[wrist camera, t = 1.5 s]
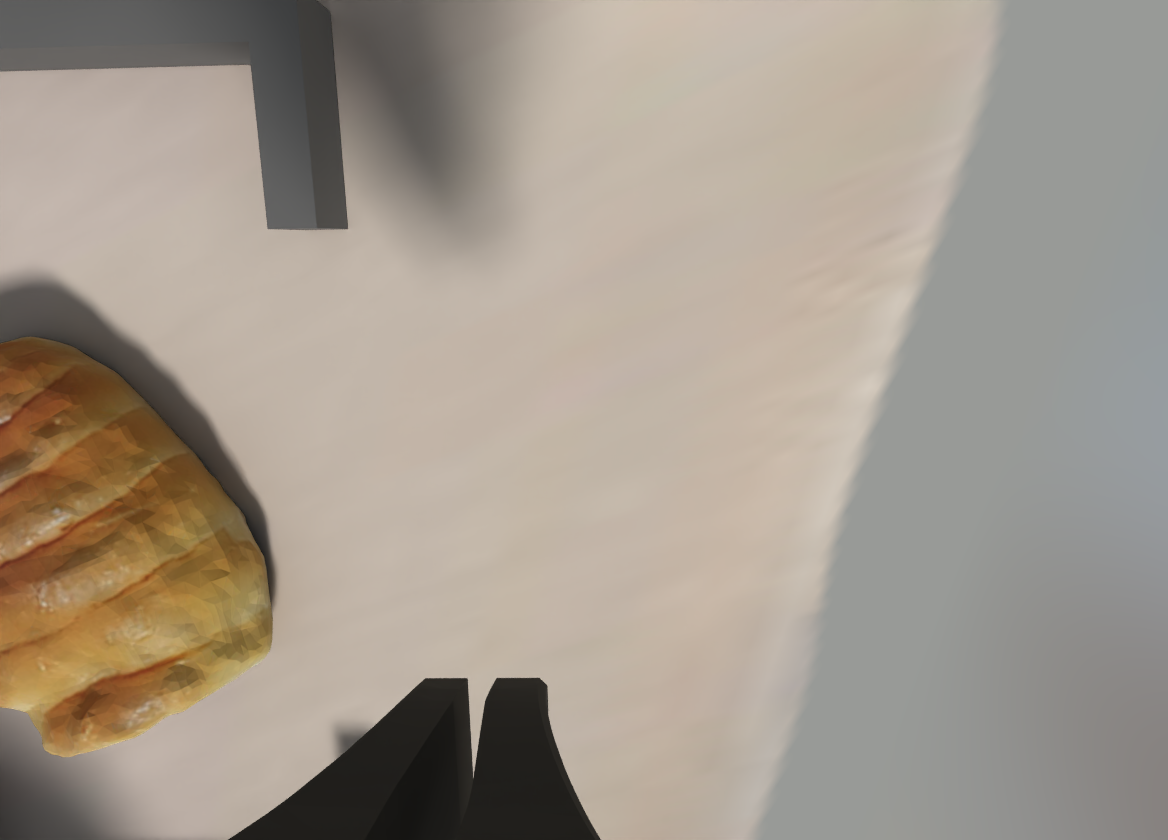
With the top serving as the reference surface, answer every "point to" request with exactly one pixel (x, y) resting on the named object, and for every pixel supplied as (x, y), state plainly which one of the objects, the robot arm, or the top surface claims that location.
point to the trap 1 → (204, 38)
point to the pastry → (113, 558)
